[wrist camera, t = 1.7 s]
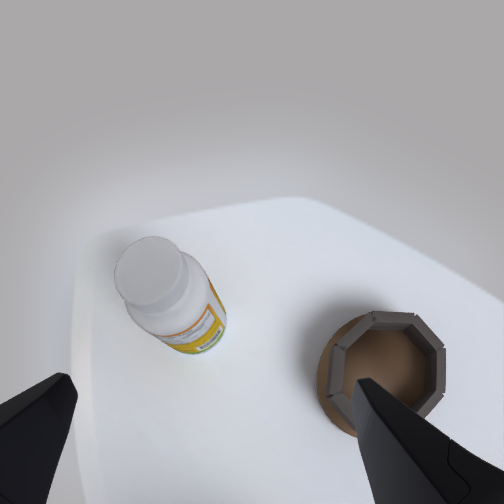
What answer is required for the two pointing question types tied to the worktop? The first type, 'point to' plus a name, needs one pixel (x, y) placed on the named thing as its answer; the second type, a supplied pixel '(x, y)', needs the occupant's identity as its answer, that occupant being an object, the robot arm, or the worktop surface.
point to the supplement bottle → (170, 295)
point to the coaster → (382, 364)
